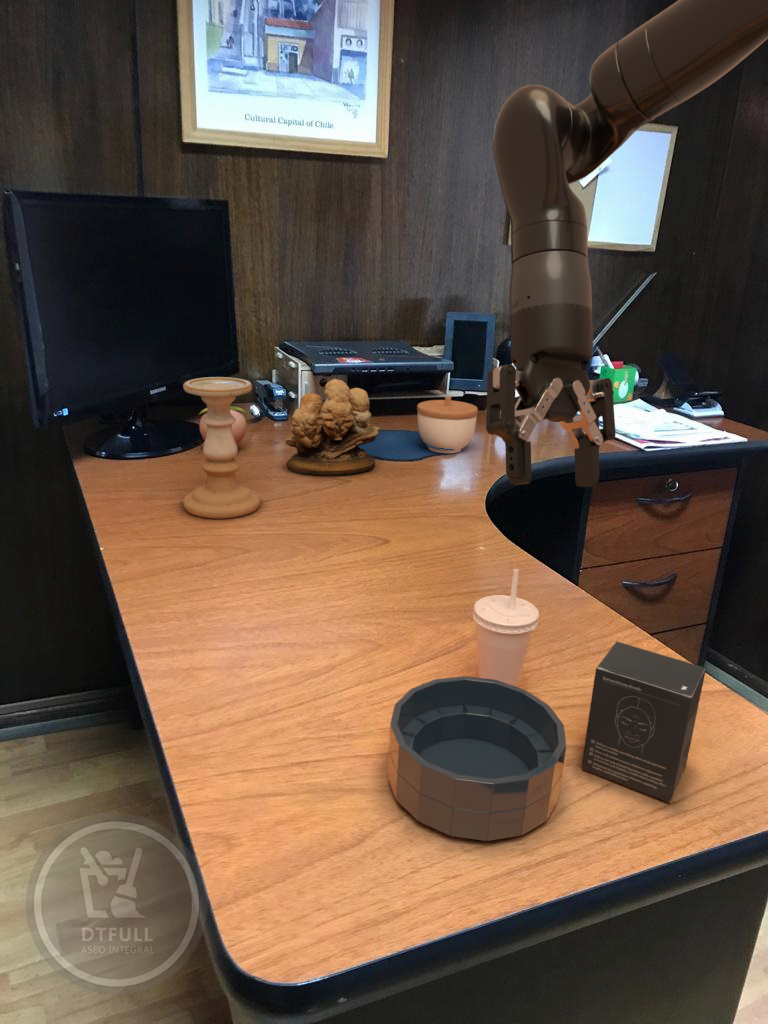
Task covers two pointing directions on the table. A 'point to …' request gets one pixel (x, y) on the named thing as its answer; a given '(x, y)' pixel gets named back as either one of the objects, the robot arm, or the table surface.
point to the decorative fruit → (237, 427)
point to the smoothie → (504, 634)
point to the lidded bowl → (446, 424)
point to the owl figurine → (332, 432)
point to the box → (642, 719)
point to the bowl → (475, 757)
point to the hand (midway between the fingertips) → (554, 485)
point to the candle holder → (220, 453)
